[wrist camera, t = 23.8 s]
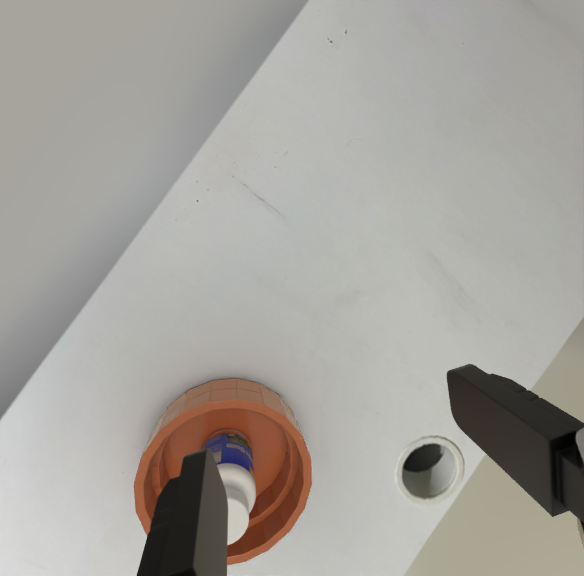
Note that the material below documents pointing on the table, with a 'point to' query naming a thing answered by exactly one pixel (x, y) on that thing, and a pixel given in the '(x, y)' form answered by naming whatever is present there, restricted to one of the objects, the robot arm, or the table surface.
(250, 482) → the pill bottle
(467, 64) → the table surface
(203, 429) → the bowl
